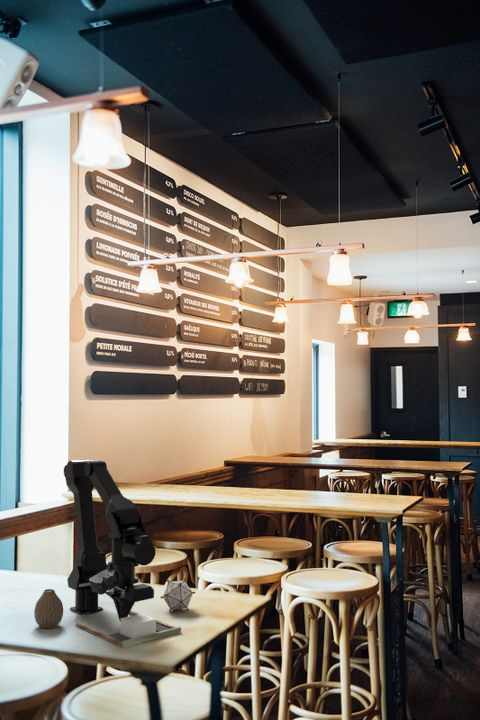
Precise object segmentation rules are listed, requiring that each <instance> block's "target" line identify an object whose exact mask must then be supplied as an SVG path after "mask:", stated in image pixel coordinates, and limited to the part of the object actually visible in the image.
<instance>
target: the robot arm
mask: <svg viewBox="0 0 480 720" xmlns="http://www.w3.org/2000/svg"><path fill="white" fill-rule="evenodd" d="M66 463H67V464H66V465H64V467H63V476H64V478H65V483H66V486H67V488H68V489H69V490H70V492H71V493H72V494H73V501H74V503H73V504H74V515H75V523H76V533H77V545H78V550H77V552H76V554H75V557H74V559H73V568H72V569H71V572H70V574H69V575H68V577H67V587H68V588H70V589H71V590H74V591H75V592H74V593H75V596H74V597H75V599H74V606H71V607H70V608H69V610H70V611H73V612H75V613H78V614H79V615H86V614H90V613H96V612H99V611H103V610H104V607H103V606H99V596H100V595H107V596H108V597H109V598H110V599H111V600H112V601H113V604H114V607H115V610H116V614H117V617H118V620H119V622H120V623H121V618H125V617H129V615H130V614H129V613H130V611H132V609H133V607H134V605H135V603H138V602H143V601H147V600H151V599H154V598H155V589H154V588H153V587H152V585H150V584H149V585H148V584H145V583H139V578H136V567H139V566H148V565H149V564H151V563H152V562H153V561H154V559H155V557H156V548H155V545H154V544H153V543H152V542H151V541H150V540H149V535H147V534H148V533H147V526H146V524H145V522H144V520H143V517H142V514H141V511H140V510H139V508H138V507H137V505H135V503H134V502H133V501H132V500H131V499H128V498H126V497H125V496H124V495H123V494H122V493H121V490H120V488H119V487H118V485H117V483H116V482H115V480H114V479H113V477H112V475H111V474H110V471H109V470H108V466H107V463H106V461H105V460H100V459H99V460H92V459H78V460H68V462H66ZM94 488H95V491H96V492H97V494H98V496H99V498H100V499H101V502H102V503H103V504H104V506H105V514H104V516H105V520H106V522H107V526H108V527H109V529H110V532H109V533H108V534H107V536H108V537H109V538H111V561H108V562H107V555H106V553H105V551H102V550H101V549H100V548H99V547H98V538H97V529H96V518H95V511H94V510H95V509H94V500H93V499H94V498H93V497H94V496H93V491H94Z"/></svg>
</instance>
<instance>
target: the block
mask: <svg viewBox="0 0 480 720" xmlns="http://www.w3.org/2000/svg"><path fill="white" fill-rule="evenodd" d="M156 620H157V619H156V618H155V617H153V616H152V617H151V616H148V615H146V614H144V613H139V614H138V615H134V616H132V615H130V616H129V615H128V617H125V618H121V622H120V632H119V633H120V634H122V635H125V636H127V637H129V638H136V637H140V636H144V635H148V634H152V633H156Z"/></svg>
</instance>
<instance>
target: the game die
mask: <svg viewBox="0 0 480 720" xmlns="http://www.w3.org/2000/svg"><path fill="white" fill-rule="evenodd" d="M186 581H187V577H184V579H183V580H174V581H170V580H169V579H166V582H167V585H166V587H165V591H164V593H163V595H162V596H160V597H159V598H160V599H163V600H164V601H165V603H166V604H167V607H168V608H169V610H168V611H169V612H168V613H171V612H172V610H182V609H186V610H187V611H188V612H189V611H190V609H189V608H188V607H189V604H190V602H191V599H192V597H193V594H194V595H195V594H196V591H192V589H191V588H190V586H189V585H188V583H187V582H186Z"/></svg>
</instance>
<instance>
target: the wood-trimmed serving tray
mask: <svg viewBox="0 0 480 720" xmlns="http://www.w3.org/2000/svg"><path fill="white" fill-rule="evenodd" d="M138 614H140V613H139V612H136V611H133V610H131V611H130V613H129V615H130V616H134V615H138ZM156 623H157V624H159V625H162V626H164V627H167V628H170V629H168V630H164V631H160V632H156V633H152V634H148V635H144V636H140V637H136V638H132V639H129V640H125V641H120V640H118V639H116V638H113V637H111V636H109V634H106V633H104V632H102V631H99V630H97V629H95V628H92V627H91V626H89V625H86V624H84V623H81V622H79V621H78V622H75V627H77V628H79V629H80V630H83V631H85V630H86V632H88V633H90V634H92V635H95V636H97V637H99V638H101V639H103V640H105V641H108V642H110V643H112V644H114V645H117V646H119V647H121V648H127V647H132V646H134V645H139V644H143V643H146V642H150V641H153V640H157V639H161V638H166V637H169V636H172V635H173V636H174V635H177V634H181V633H182V627H181V626H173V625H171V624H168V623H165V622H163V621H160V620H158V619H156Z"/></svg>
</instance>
